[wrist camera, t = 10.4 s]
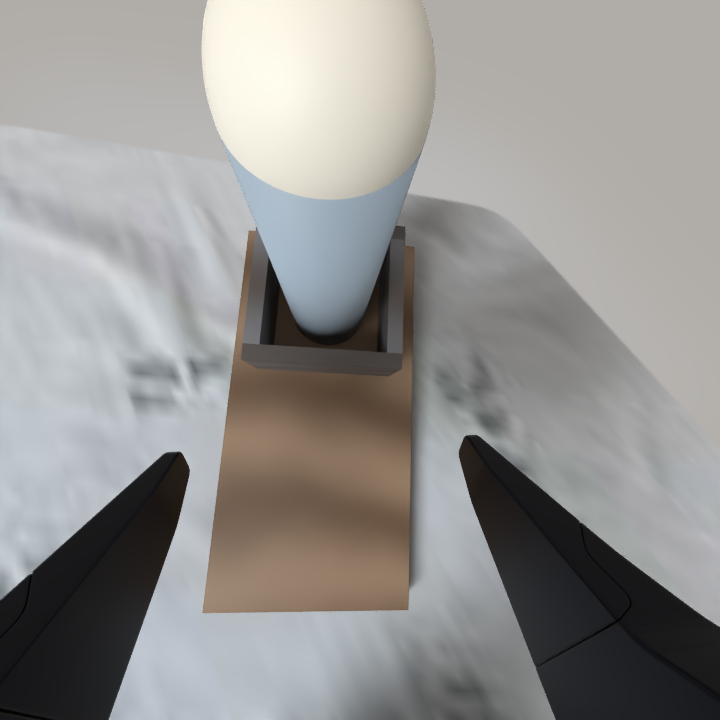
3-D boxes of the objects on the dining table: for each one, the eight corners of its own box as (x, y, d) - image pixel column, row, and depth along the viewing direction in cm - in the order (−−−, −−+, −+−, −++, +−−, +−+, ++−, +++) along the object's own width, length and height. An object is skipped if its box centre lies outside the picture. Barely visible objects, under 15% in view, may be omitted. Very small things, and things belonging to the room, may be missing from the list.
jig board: (403, 596, 18) (429, 663, 13) (211, 598, 17) (165, 671, 12) (409, 255, 21) (431, 213, 17) (253, 240, 20) (231, 191, 16)
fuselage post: (376, 320, 19) (545, -8, 4) (319, 358, 18) (266, 127, 3) (337, 267, 19) (360, -219, 4) (280, 301, 19) (70, -141, 4)
